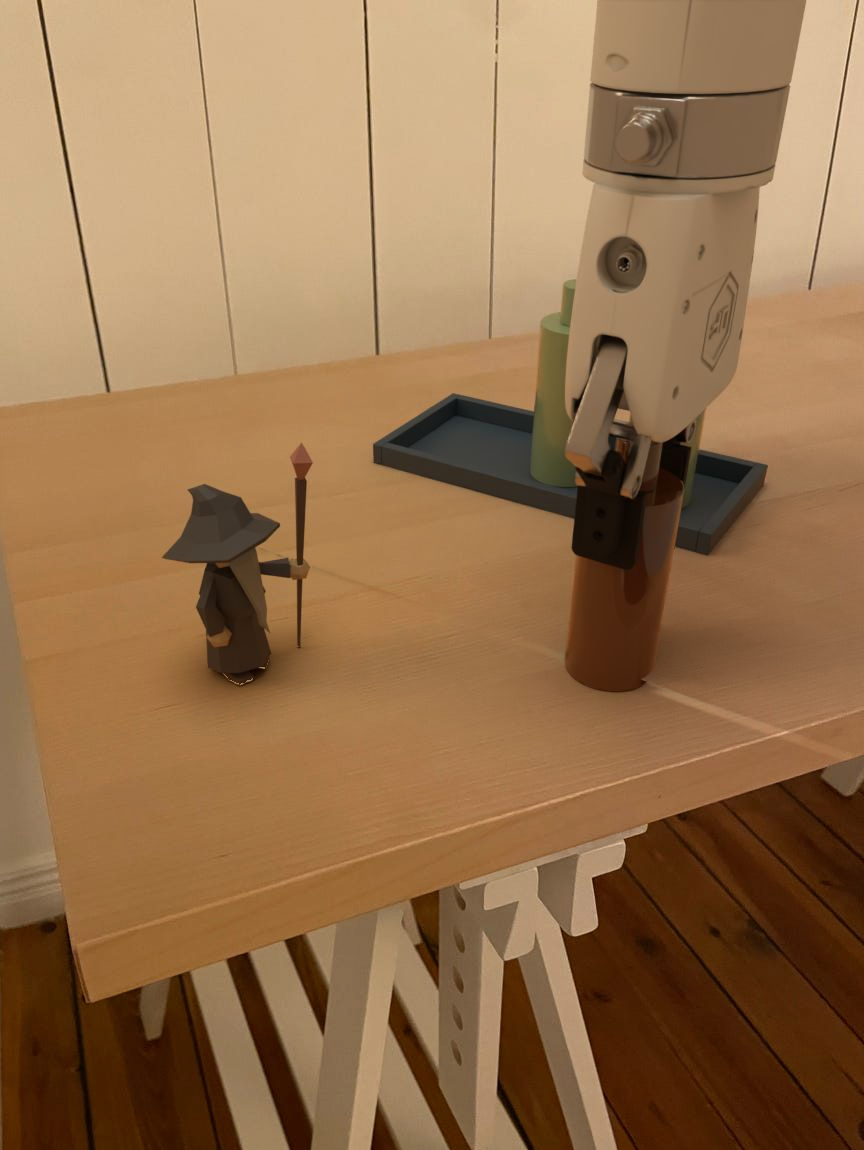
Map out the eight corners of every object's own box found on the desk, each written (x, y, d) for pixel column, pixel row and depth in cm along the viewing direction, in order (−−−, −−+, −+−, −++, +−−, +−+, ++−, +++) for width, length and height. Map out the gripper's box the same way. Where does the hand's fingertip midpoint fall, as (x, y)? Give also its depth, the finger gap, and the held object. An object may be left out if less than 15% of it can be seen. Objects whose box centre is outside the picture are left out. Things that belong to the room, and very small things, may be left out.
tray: (762, 491, 72) (768, 464, 70) (706, 563, 64) (711, 534, 63) (452, 416, 84) (452, 392, 82) (373, 469, 76) (372, 443, 75)
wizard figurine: (248, 714, 53) (222, 509, 46) (166, 681, 55) (130, 482, 48) (335, 634, 58) (324, 441, 51) (258, 608, 61) (237, 420, 54)
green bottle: (607, 468, 74) (629, 279, 66) (579, 493, 71) (599, 298, 63) (548, 453, 76) (562, 269, 68) (518, 477, 73) (530, 287, 65)
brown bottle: (667, 656, 56) (707, 428, 48) (633, 702, 53) (670, 466, 45) (587, 630, 58) (613, 408, 50) (549, 672, 55) (571, 442, 47)
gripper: (698, 185, 33) (630, 642, 43) (834, 112, 44) (754, 488, 55) (494, 164, 36) (477, 591, 47) (669, 101, 48) (624, 456, 58)
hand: (627, 532), depth 51 cm, fingers closed on brown bottle, 4 cm apart
